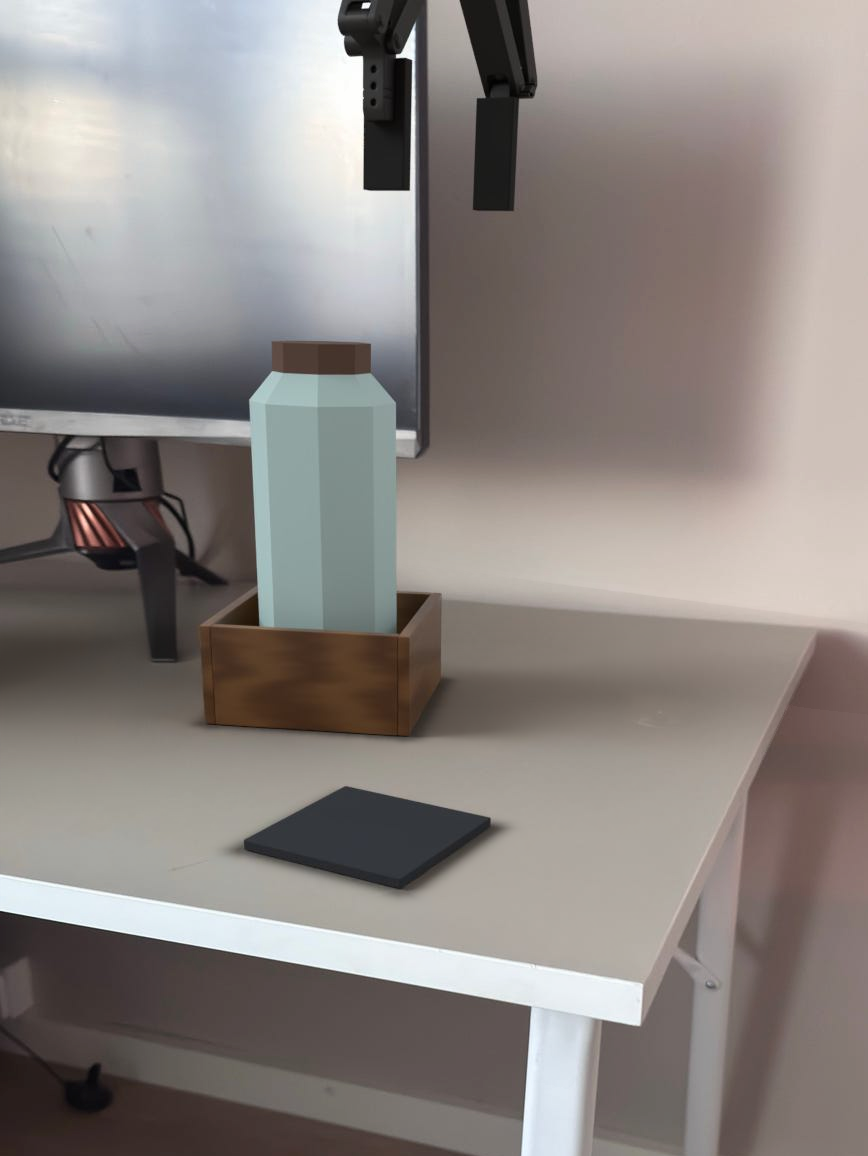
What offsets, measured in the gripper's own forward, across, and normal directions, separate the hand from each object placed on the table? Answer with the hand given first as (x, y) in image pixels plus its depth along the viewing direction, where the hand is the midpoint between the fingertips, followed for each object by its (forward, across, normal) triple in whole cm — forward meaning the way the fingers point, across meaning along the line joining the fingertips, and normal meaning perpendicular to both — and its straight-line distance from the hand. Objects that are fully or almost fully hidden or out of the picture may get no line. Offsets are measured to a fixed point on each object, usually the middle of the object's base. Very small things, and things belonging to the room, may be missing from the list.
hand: (443, 202), depth 80 cm
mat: (+34, -21, -8) cm, 41 cm away
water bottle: (+34, 0, +8) cm, 35 cm away
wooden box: (+34, 0, +8) cm, 35 cm away
